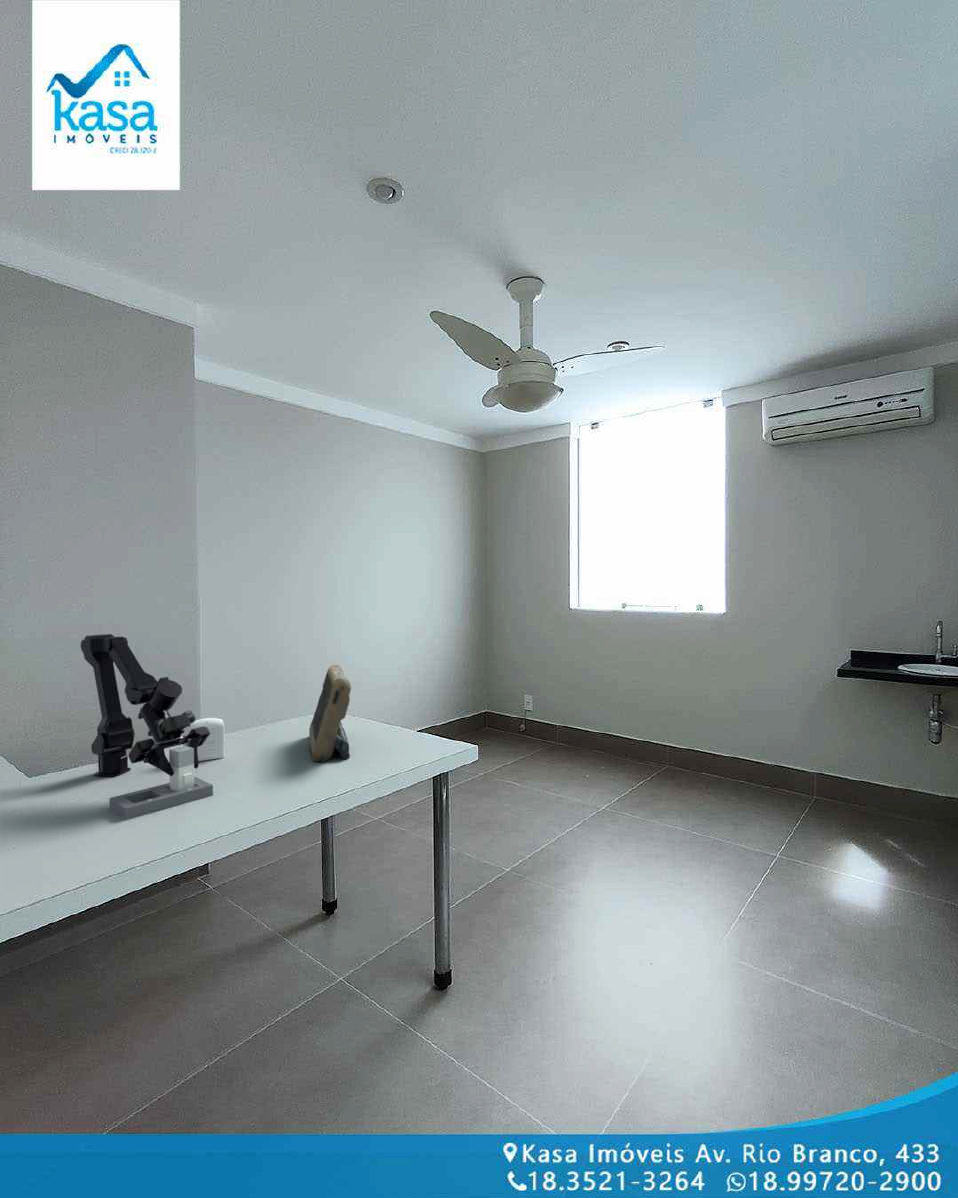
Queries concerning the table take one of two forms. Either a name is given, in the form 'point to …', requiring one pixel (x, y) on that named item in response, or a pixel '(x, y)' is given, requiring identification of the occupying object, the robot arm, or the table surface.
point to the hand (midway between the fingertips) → (185, 771)
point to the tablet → (330, 717)
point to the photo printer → (210, 738)
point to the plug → (182, 768)
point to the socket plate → (157, 798)
